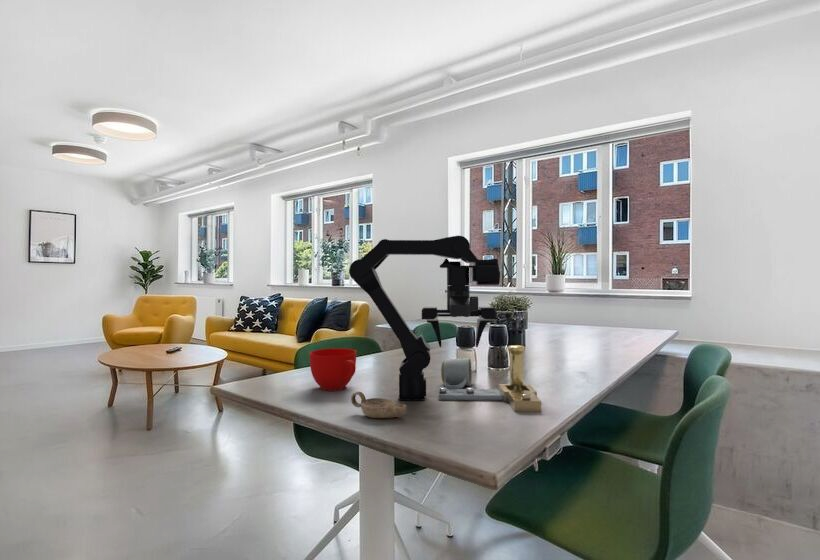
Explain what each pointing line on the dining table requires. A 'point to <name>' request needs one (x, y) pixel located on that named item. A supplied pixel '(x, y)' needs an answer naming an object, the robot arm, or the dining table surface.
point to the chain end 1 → (471, 394)
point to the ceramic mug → (456, 373)
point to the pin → (516, 367)
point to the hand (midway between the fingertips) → (458, 346)
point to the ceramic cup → (333, 367)
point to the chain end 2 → (521, 398)
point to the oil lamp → (378, 407)
